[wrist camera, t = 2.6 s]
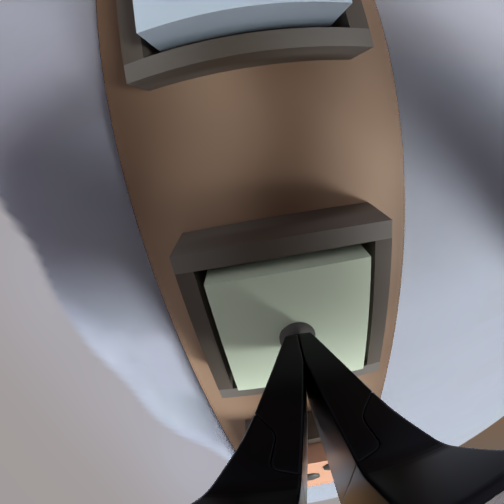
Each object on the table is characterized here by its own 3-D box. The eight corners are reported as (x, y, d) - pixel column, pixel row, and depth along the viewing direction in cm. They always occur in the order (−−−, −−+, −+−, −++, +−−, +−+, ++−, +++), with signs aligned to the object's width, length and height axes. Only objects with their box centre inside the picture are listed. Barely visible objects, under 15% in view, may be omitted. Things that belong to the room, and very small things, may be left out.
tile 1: (350, 232, 10) (372, 257, 8) (350, 336, 12) (363, 370, 10) (211, 255, 10) (203, 287, 8) (239, 355, 12) (238, 392, 10)
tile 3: (346, 427, 14) (353, 455, 12) (341, 457, 16) (346, 480, 14) (263, 441, 14) (264, 471, 12) (273, 468, 16) (274, 492, 14)
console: (323, -92, 5) (338, -124, 2) (361, 443, 19) (368, 470, 17) (105, -56, 5) (78, -82, 2) (247, 462, 20) (248, 491, 17)
